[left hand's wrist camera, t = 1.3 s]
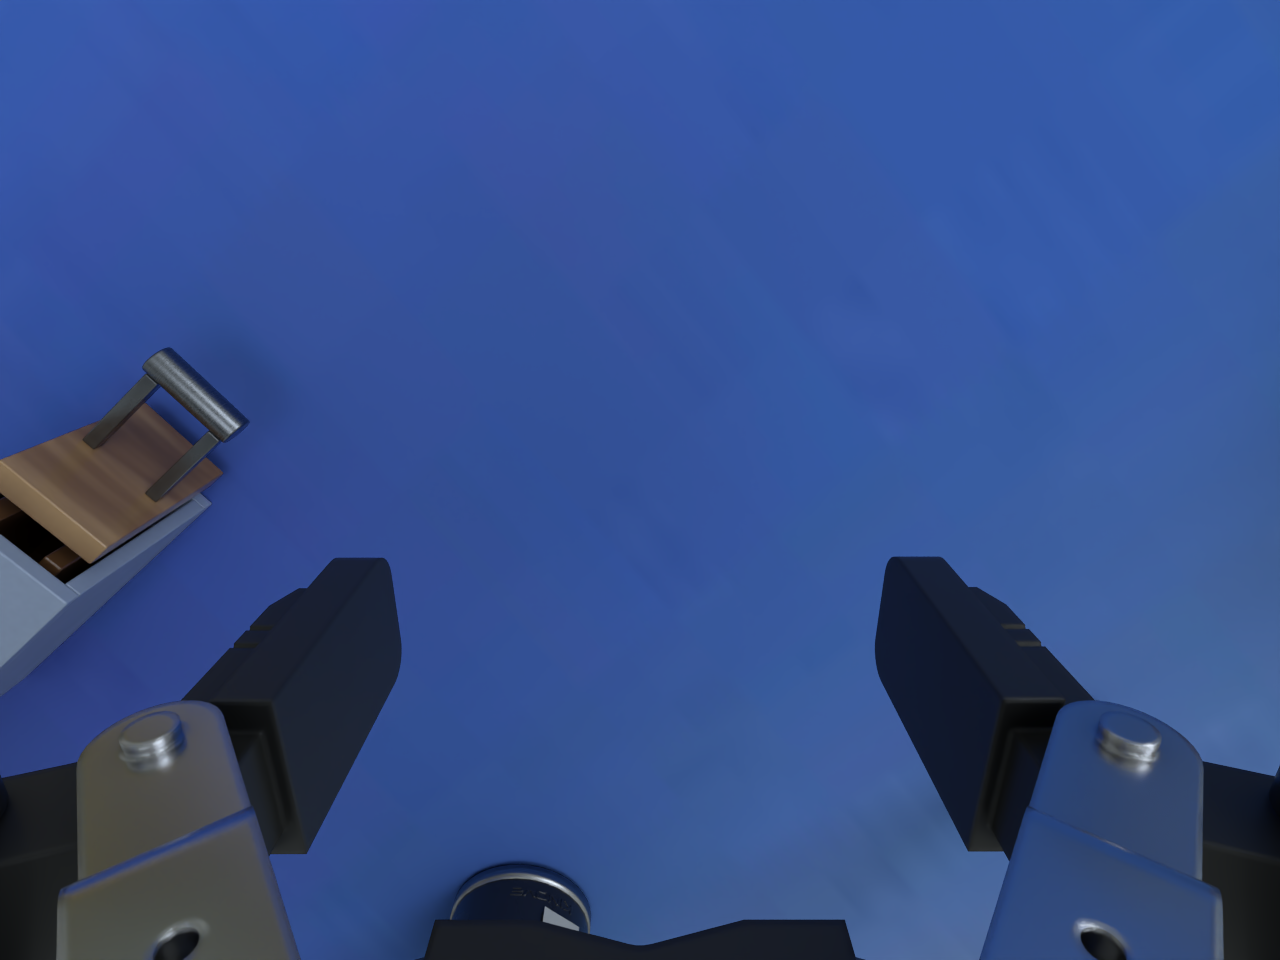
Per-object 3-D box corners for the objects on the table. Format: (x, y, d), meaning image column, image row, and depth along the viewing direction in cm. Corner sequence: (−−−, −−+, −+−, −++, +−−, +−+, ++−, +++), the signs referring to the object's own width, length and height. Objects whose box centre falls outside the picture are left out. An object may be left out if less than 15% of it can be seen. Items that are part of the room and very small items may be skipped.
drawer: (221, 323, 33) (90, 360, 25) (301, 400, 34) (200, 458, 26) (-40, 589, 38) (-216, 689, 30) (38, 647, 39) (-111, 757, 32)
